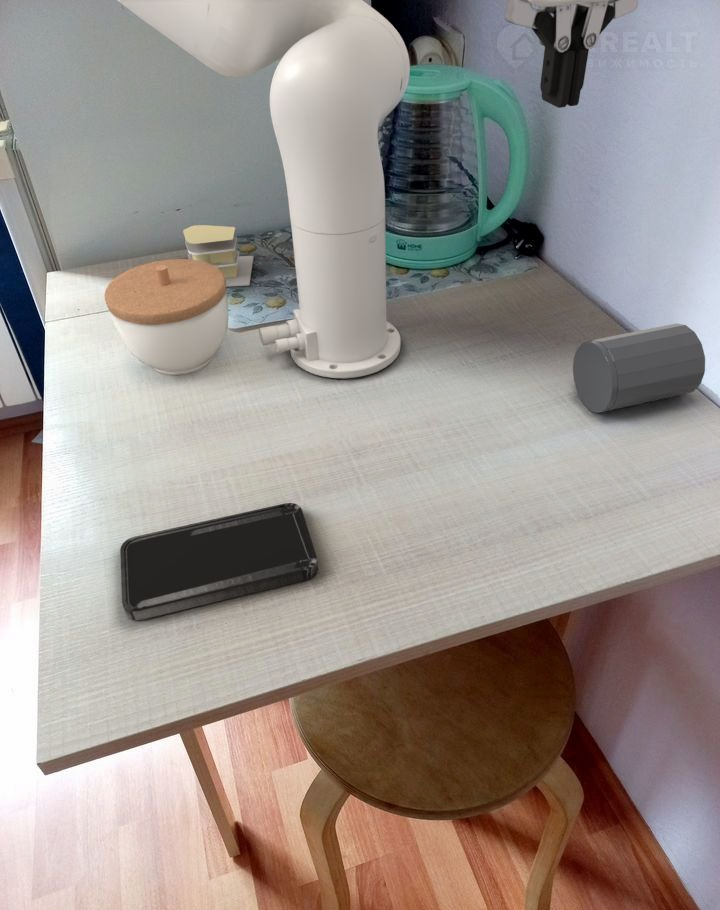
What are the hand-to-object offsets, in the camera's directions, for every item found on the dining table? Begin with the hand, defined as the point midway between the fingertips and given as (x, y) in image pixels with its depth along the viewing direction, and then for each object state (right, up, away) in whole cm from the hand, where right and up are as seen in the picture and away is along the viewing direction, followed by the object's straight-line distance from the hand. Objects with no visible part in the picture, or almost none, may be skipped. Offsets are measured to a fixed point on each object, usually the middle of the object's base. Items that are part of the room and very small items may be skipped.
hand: (559, 102), depth 58 cm
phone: (-28, -38, -1) cm, 47 cm away
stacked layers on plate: (-36, -4, +39) cm, 53 cm away
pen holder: (+6, -21, +11) cm, 25 cm away
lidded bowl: (-37, -18, +23) cm, 47 cm away
